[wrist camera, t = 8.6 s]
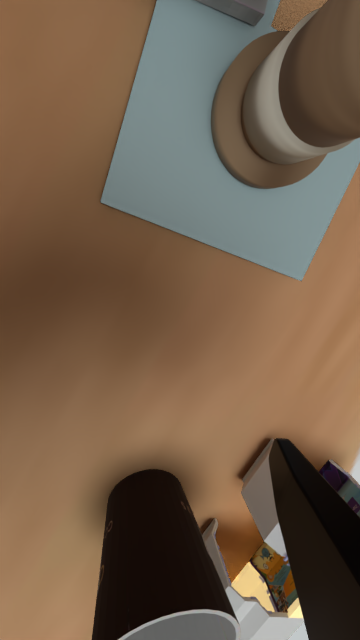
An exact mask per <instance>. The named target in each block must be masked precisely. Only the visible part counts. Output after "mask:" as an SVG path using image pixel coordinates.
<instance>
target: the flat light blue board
mask: <svg viewBox="0 0 360 640" xmlns="http://www.w3.org/2000/svg"><path fill="white" fill-rule="evenodd" d="M279 2H280V0H268V1H267V5H266V10H265V14H264V15H263V17H262V18H261V19H260V21H259V22H258V23H257V25H256V26H254V25H252V24H249V23H247V22H245V21H242V20H240V19H238V18H235V17H233V16H231V15H228V14H226V13H224V12H221V11H219V10H217V9H214V8H212V7H210V6H207V5H205V4H203V3H201V2H198V1H196V0H157V2H156V6H155V9H154V13H153V17H152V20H151V24H150V27H149V31H148V34H147V38H146V41H145V45H144V49H143V52H142V56H141V59H140V63H139V66H138V70H137V73H136V77H135V80H134V84H133V88H132V91H131V95H130V98H129V102H128V105H127V109H126V112H125V116H124V120H123V123H122V127H121V130H120V134H119V137H118V141H117V144H116V148H115V152H114V155H113V159H112V162H111V166H110V169H109V173H108V176H107V180H106V184H105V187H104V191H103V194H102V198H101V201H100V202H101V203H103V204H106V205H108V206H111V207H113V208H116V209H119V210H121V211H124V212H126V213H129V214H131V215H134V216H136V217H139V218H141V219H144V220H147V221H149V222H152V223H154V224H157V225H159V226H162V227H164V228H167V229H170V230H172V231H175V232H177V233H180V234H182V235H185V236H187V237H190V238H192V239H195V240H198V241H200V242H203V243H205V244H208V245H210V246H213V247H215V248H218V249H220V250H223V251H226V252H228V253H231V254H233V255H236V256H238V257H241V258H243V259H246V260H249V261H251V262H254V263H256V264H259V265H261V266H264V267H266V268H269V269H271V270H274V271H277V272H279V273H282V274H284V275H287V276H289V277H292V278H294V279H297V280H300V281H302V279H303V277H304V275H305V273H306V271H307V269H308V267H309V265H310V263H311V261H312V258H313V256H314V254H315V252H316V250H317V248H318V246H319V244H320V242H321V240H322V238H323V236H324V234H325V232H326V230H327V228H328V226H329V224H330V222H331V220H332V218H333V216H334V213H335V211H336V209H337V207H338V205H339V203H340V201H341V199H342V197H343V195H344V193H345V191H346V189H347V187H348V185H349V183H350V181H351V179H352V177H353V175H354V173H355V170H356V168H357V166H358V164H359V162H360V138H357V139H355V140H354V141H353V142H351V143H350V144H349V145H347V146H345V147H343V148H341V149H339V150H337V151H334V152H330V153H328V154H327V155H326V157H325V158H324V160H323V161H322V162H321V163H320V165H319V166H318V167H317V168H316V169H315V170H314V171H313V172H312V173H311V174H309V175H308V176H307V177H305V178H304V179H302V180H300V181H299V182H296V183H294V184H291V185H288V186H284V187H278V188H272V189H258V188H254V187H250V186H248V185H245V184H244V183H242V182H240V181H239V180H237V179H236V178H235V177H233V176H232V175H231V174H230V173H229V172H228V170H227V169H226V168H225V166H224V165H223V164H222V162H221V160H220V158H219V156H218V154H217V151H216V149H215V146H214V142H213V138H212V132H211V110H212V104H213V99H214V95H215V92H216V89H217V87H218V84H219V82H220V80H221V78H222V77H223V75H224V73H225V72H226V70H227V69H228V68H229V66H230V65H231V63H232V62H233V61H234V59H235V58H236V57H237V55H238V54H239V53H240V52H241V51H242V50H243V49H244V48H245V47H246V46H247V45H248V44H249V43H251V42H252V41H253V40H255V39H257V38H258V37H260V36H262V35H265V34H268V33H271V32H276V31H277V30H276V29H274V28H273V27H271V24H272V21H273V18H274V16H275V13H276V10H277V8H278V5H279Z"/></svg>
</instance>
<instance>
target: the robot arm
mask: <svg viewBox="0 0 360 640" xmlns="http://www.w3.org/2000/svg"><path fill="white" fill-rule="evenodd" d="M269 467H270V474H271V481H272V487H273V494H274V500H275V507H276V512H277V517H278V521H279V525H280V529H281V533H282V537H283V541H284V545H285V549H286V553H287V557H288V560H289V564H290V568H291V572H292V576H293V580H294V584H295V588H296V591H297V595H298V599H299V603H300V607H301V611H302V615H303V619H304V623H305V626H306V630H307V634H308V638H309V640H360V517H359V516H358V515H357V514H356V513H355V511H354V510H353V509H352V508H351V507H350V506H349V505H348V504H347V503H346V502H345V501H344V499H343V498H342V497H341V496H340V495H339V494H338V493H337V492H336V491H335V490H334V488H333V487H332V486H331V485H330V484H329V483H328V482H327V481H326V480H325V479H324V477H323V476H322V475H321V474H320V473H319V472H318V471H317V470H316V469H315V468H314V466H313V465H312V464H311V463H310V462H309V461H308V460H307V459H306V458H305V457H304V455H303V454H302V453H301V452H300V451H299V450H298V449H297V448H296V447H295V446H294V444H293V443H292V442H291V441H290V440H288V439H285V438H276V439H274V441H273V444H272V447H271V450H270V454H269Z"/></svg>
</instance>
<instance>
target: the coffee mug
mask: <svg viewBox="0 0 360 640" xmlns="http://www.w3.org/2000/svg"><path fill="white" fill-rule="evenodd" d="M240 636H241V630H240V625H239V622H238V620H237V618H236V615H235V613H234V610H233V608H232V606H231V603H230V601H229V599H228V596H227V594H226V591H225V589H224V587H223V584H222V582H221V579H220V577H219V575H218V572H217V570H216V567H215V565H214V563H213V560H212V558H211V555H210V553H209V551H208V548H207V546H206V543H205V541H204V539H203V536H202V534H201V532H200V529H199V527H198V524H197V522H196V520H195V517H194V515H193V512H192V510H191V508H190V505H189V503H188V500H187V498H186V496H185V493H184V491H183V488H182V486H181V484H180V482H179V480H178V479H177V478H176V477H175V476H174V475H172V474H171V473H169V472H166V471H162V470H145V471H140V472H137V473H134V474H132V475H130V476H128V477H126V478H125V479H123V480H122V481H120V482H119V483H118V484H117V485H116V486H115V487H114V489H113V490H112V492H111V494H110V496H109V499H108V505H107V514H106V522H105V531H104V539H103V548H102V557H101V565H100V574H99V582H98V591H97V599H96V608H95V617H94V625H93V634H92V640H240Z"/></svg>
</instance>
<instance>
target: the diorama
mask: <svg viewBox="0 0 360 640" xmlns="http://www.w3.org/2000/svg"><path fill="white" fill-rule="evenodd" d="M273 441H274V440H273V439H271V440H270V442H269V443H268V444H267V446H266V447H265V448H264V450H263V451H262V453H261V454H260V455H259V457H258V458H257V460H256V461H255V462H254V464H253V465H252V467H251V468H250V469H249V471H248V472H247V473H246V475H245V476H244V478H243V479H242V481H243V487H242V491H241V494H242V496H243V498H244V500H245V502H246V505H247V507H248V509H249V511H250V513H251V515H252V517H253V519H254V521H255V524H256V526H257V528H258V530H259V532H260V534H261V536H262V538H263V540H264V543H263V544H262V545H261V547H260V548H259V549H258V550H257V552H256V553H255V554H254V555H253V557H252V558H251V559H250V562H249V563H247V564H246V566H245V567H244V568H243V569H242V571H241V572H240V573H239V575H238V576H237V577H236V578H235V580H234V581H233V582H232V583H231V581H230V578H228V576H229V575H228V572H226V570H227V569H226V566H225V563H224V560H223V557H222V554H221V552H220V551H219V549H220V548H219V546H218V545H217V542H216V536H215V534H216V530H217V527H218V521H217V520H216V518H214V519H213V521H212V522H211V523H210V525H209V526H208V528H207V529H206V530H205V532H204V533H203V535H202V536H203V539H204V541H205V543H206V546H207V548H208V551H209V553H210V555H211V558H212V560H213V563H214V565H215V567H216V570H217V572H218V575H219V577H220V579H221V582H222V584H223V587H224V589H225V591H226V594H227V596H228V599H229V601H230V603H231V606H232V608H233V610H234V613H235V615H236V618H237V620H238V622H239V625H240V630H241V636H240V640H288V639H289V638H290V637H291V636H292V634H293V633H294V632H295V631H296V630H297V629H298V628H299V627H300V625H301V624H302V623H303V622H304V619H303V615H302V611H301V607H300V603H299V599H298V595H297V591H296V588H295V584H294V580H293V576H292V572H291V568H290V564H289V560H288V557H287V553H286V549H285V545H284V541H283V537H282V533H281V529H280V525H279V521H278V517H277V512H276V507H275V500H274V494H273V487H272V481H271V474H270V467H269V454H270V450H271V447H272V444H273ZM319 473H320V474H321V475H322V476H323V477H324V479H325V480H326V481H327V482H328V483H329V484H330V485H331V486H332V487H333V488H334V490H335V491H336V492H337V493H338V494H339V495H340V496H341V497H342V498H343V499H344V501H345V502H346V503H347V504H348V505H349V506H350V507H351V508H352V509H353V510H354V511H355V513H356V514H357V515H358V516H359V517H360V485H359V484H358V483H357V481H356V480H355V479H354V478H353V477H352V476H351V475H350V474H349V473H348V472H346V471H345V470H344V469H342V468H341V467H340V466H339V465H337V464H336V463H335V462H334V461H333V460H332V459H331V460H328V461H327V462H326V464H325V465H324V466H323V468H322V469H321V470H320V471H319Z"/></svg>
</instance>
